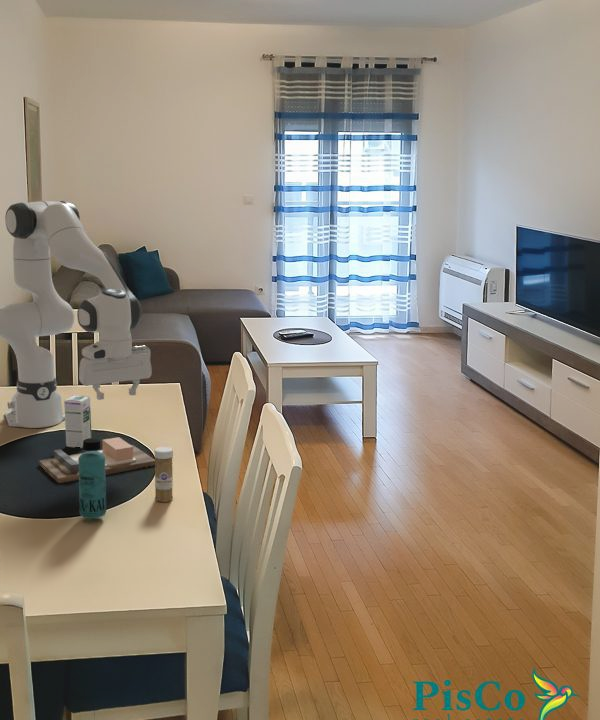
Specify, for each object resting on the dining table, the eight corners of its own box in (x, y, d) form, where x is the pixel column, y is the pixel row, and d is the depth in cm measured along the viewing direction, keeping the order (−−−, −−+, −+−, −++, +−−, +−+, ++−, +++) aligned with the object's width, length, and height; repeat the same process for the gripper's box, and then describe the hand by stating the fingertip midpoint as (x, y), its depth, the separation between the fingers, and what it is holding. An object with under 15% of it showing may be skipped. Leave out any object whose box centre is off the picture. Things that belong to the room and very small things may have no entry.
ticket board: (39, 465, 252) (38, 451, 251) (132, 449, 267) (132, 436, 266) (58, 483, 239) (58, 469, 238) (156, 465, 254) (155, 451, 253)
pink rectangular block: (93, 453, 258) (92, 440, 257) (119, 449, 262) (119, 435, 261) (109, 466, 248) (109, 452, 247) (136, 461, 253) (136, 447, 252)
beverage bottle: (81, 514, 219) (78, 435, 215) (109, 513, 220) (107, 435, 215) (77, 524, 213) (74, 443, 209) (105, 524, 214) (103, 443, 209)
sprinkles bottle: (157, 503, 227) (157, 452, 224) (152, 497, 231) (152, 447, 228) (175, 501, 229) (175, 450, 226) (170, 495, 233) (169, 445, 230)
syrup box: (84, 448, 267) (82, 401, 264) (65, 446, 268) (63, 399, 265) (92, 442, 272) (90, 396, 269) (73, 441, 273) (72, 394, 270)
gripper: (145, 342, 257) (146, 389, 260) (76, 349, 246) (77, 399, 249) (155, 346, 252) (155, 394, 255) (84, 354, 241) (86, 404, 244)
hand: (116, 397), depth 252 cm, fingers open, 8 cm apart
